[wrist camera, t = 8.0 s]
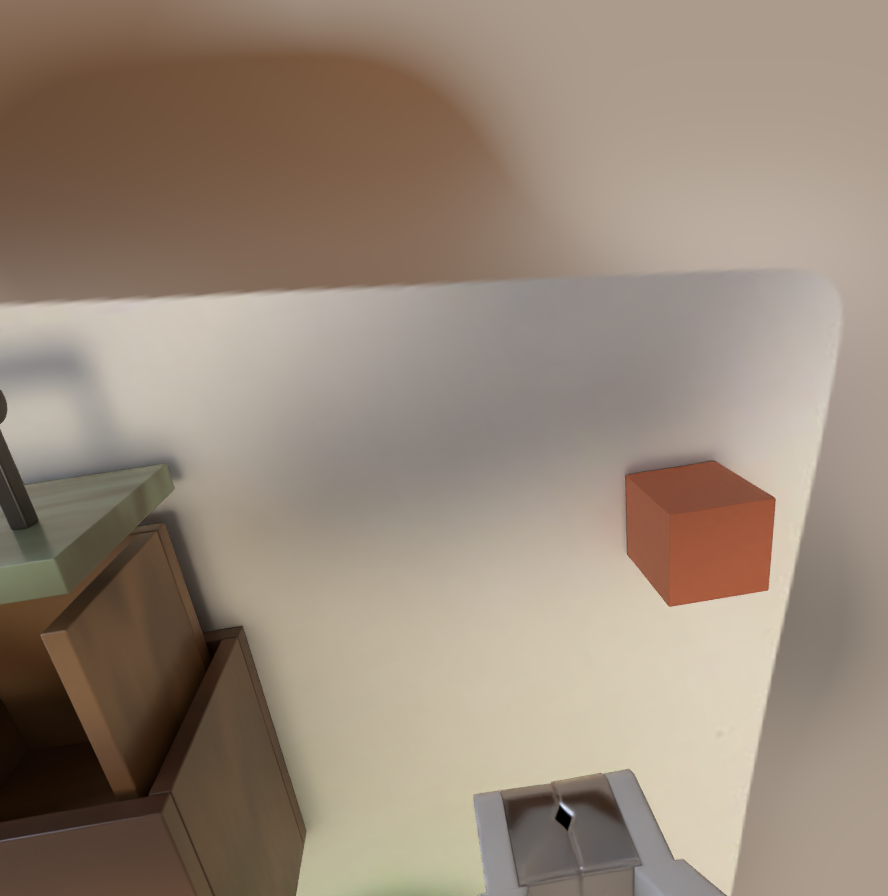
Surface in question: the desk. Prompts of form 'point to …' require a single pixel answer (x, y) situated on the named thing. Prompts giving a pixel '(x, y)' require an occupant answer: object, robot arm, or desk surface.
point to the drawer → (89, 639)
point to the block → (699, 532)
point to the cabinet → (180, 810)
